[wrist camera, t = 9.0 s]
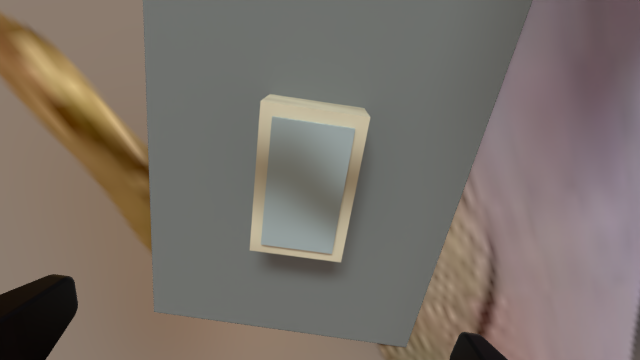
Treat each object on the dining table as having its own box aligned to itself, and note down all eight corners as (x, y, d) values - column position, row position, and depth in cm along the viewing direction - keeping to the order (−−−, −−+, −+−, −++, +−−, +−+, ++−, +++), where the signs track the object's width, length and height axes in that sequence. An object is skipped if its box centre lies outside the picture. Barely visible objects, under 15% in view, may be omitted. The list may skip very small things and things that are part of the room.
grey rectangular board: (541, -40, 15) (548, -43, 14) (404, 341, 24) (405, 347, 23) (144, -118, 14) (138, -125, 13) (157, 306, 23) (154, 311, 22)
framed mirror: (339, 237, 20) (341, 264, 17) (258, 226, 20) (248, 252, 17) (364, 108, 17) (370, 118, 14) (269, 94, 17) (259, 101, 14)
